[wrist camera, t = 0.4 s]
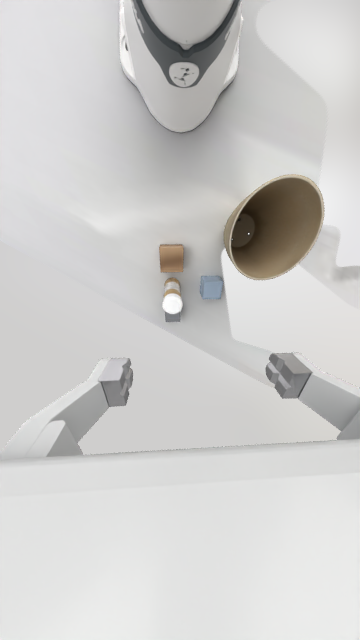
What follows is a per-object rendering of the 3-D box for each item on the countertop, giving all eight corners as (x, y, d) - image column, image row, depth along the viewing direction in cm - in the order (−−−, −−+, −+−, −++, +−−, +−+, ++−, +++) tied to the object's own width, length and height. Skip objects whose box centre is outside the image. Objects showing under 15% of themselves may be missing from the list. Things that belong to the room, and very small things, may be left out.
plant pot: (277, 192, 34) (345, 174, 21) (259, 260, 43) (299, 279, 29) (212, 192, 34) (239, 173, 21) (206, 261, 42) (223, 281, 29)
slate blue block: (201, 276, 44) (204, 281, 40) (218, 275, 44) (223, 281, 40) (199, 292, 47) (202, 299, 43) (215, 291, 47) (220, 298, 43)
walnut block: (160, 244, 39) (159, 247, 35) (182, 244, 39) (183, 247, 35) (161, 266, 42) (160, 272, 38) (181, 266, 42) (183, 271, 38)
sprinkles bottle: (172, 294, 47) (172, 318, 36) (161, 284, 45) (158, 305, 34) (183, 284, 45) (187, 306, 34) (172, 273, 43) (172, 292, 32)
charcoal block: (165, 302, 48) (164, 309, 45) (179, 301, 48) (180, 308, 45) (166, 314, 51) (165, 321, 47) (179, 314, 51) (180, 321, 47)
